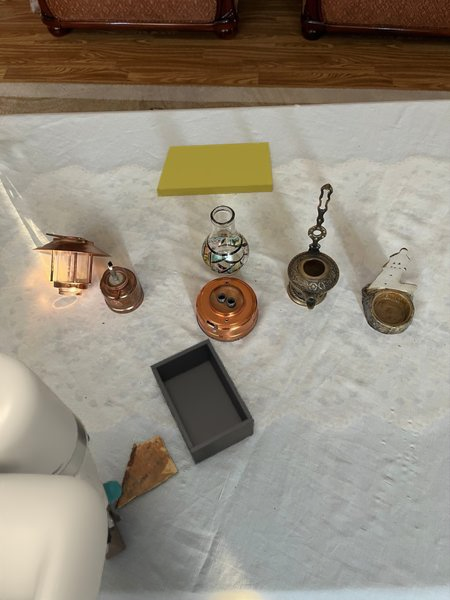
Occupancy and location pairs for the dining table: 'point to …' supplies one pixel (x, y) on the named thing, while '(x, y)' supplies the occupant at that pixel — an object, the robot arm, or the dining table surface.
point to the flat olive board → (216, 169)
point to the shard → (145, 469)
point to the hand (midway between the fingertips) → (91, 483)
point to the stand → (115, 542)
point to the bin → (203, 400)
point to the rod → (112, 490)
